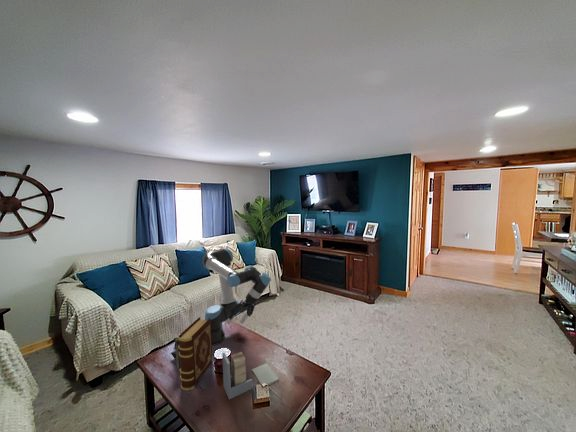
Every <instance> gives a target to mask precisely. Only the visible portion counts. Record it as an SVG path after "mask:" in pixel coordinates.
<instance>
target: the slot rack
mask: <svg viewBox="0 0 576 432" xmlns="http://www.w3.org/2000/svg"><path fill="white" fill-rule="evenodd" d="M221 354H222V357H221V358H222V376H223V377H222V378H223V380H222V381H223V389H224V391H225V394H226V396H227V398H228V400H231V399H233V398H236V397H238V396H240V395H242V394H244V393H246V392H249V391H250V390H253V379H252V378H250V379H247V378H248V372H247V369H246V381H245V382H243V383H241V384H238V385H236V386H234V387H232V374H231V361H230V360H229V359H228V357H227V355H226V353H225V352H222V353H221Z"/></svg>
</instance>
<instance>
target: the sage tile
mask: <svg viewBox="0 0 576 432" xmlns="http://www.w3.org/2000/svg"><path fill="white" fill-rule="evenodd" d="M251 372H252V373H253V375H254V376H255V378H256V380H257V381H258V382H259V384H260V385H261V384H263V383H266V384H268V386H270V385H272V384H274V383H276V382H278V381H279V380H280V379H279V377H278V376H277V374H276V373H275V372H274V370H273V369H272V368H271V367H270V365H269V364H268V363H267V362H265V363H263V364H261V365H259V366H257V367H254V368H252V369H251Z"/></svg>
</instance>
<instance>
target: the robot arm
mask: <svg viewBox="0 0 576 432" xmlns="http://www.w3.org/2000/svg"><path fill="white" fill-rule="evenodd" d="M233 260H234V254H233V252H232V251H231V249H229V248H220V249H215V250H210V251H207V252H206V253H205V254H204V256H203V257H202V264H203V266H204V268H206V269H207V270H209V271H212V272H214V273H216V275H217V274H218V277H219V285H220V292H221V301H220V305H219V304H215V305H211V306H209V307H208V308H207V309H205V313H204V320H208V319H209V318H210V321H211V340H212V346H215V345H218V344H220V343H222V342H223V341H224V340H225V338H226V332H225V330H224V329H223V323H224V322H226V323H227V325H228V326H229V325H230V324H231V323H232V321H233V320H234V319H235V317H237V316H239V315H240V312H241V311H243V310H246V312H245V313H244V315H243V316H242V318H241V319H240V321H239V322H240V324H241V325H243V324H244V323H245V322H246V320H247V319H248V317H251V316H252V315H253V312H254V310H255V308H256V305H257V302H258V301H259V299H260V297H262V295H263V293H264V292H265V290H266V289H267V287H268V286H269V285H270V282H272V278H271V277H270V276H269V274H267V273H265V272H262V273H261V272H260V271H259V270H258V269H257V268H256V267H254V266H253V265H248V266H245V269H244V270H243V271H240V272H239V271H236V270H234V269H233V268H231V266H232V262H233ZM249 282H252V283H253V286H252V287H251V288H250V290H249V292H248V293H247V295H246V296H245V300H240V302H239V301H238V300H237V299H236V298H235V297H234V290H233V288H234V287H238V286H241V285H243V284H247V283H249Z"/></svg>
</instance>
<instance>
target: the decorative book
mask: <svg viewBox="0 0 576 432" xmlns="http://www.w3.org/2000/svg"><path fill="white" fill-rule="evenodd" d="M177 338H178V340H179V346H178V348H179V350H180V352H179V356H180V367H181V368H180V369H179V372H180V376H179V379H180V382H181V384H180V388H181V390H183V391H187V392H188V391H192V390H194V389H195V387H196V386H197V385H198V383H199V381H200V380H201V379H202V377H204V375H205V374H206V372H207V370H208V369H209V368H210V366H212V363H213V348H212V347H213V345H212V340H211V321H210V318H209V319H208V320H205V319H201V316H199V317H198V318H197V319H195V320H194V321H193V322H192V323H191V324H190V325H189V326H188V327H187V328H185V330H183V332H181V333H180V334H179V335H177Z"/></svg>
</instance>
